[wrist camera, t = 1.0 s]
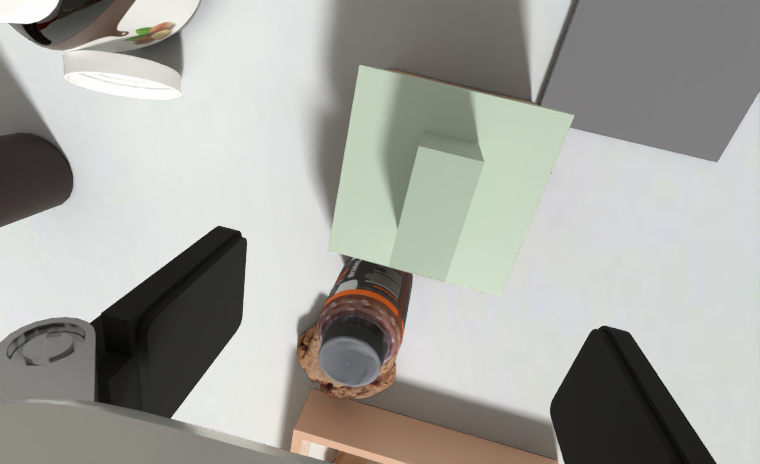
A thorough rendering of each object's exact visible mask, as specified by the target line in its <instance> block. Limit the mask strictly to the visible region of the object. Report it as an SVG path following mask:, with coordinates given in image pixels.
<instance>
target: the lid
mask: <svg viewBox="0 0 760 464" xmlns="http://www.w3.org/2000/svg"><path fill="white" fill-rule="evenodd" d="M574 116H575V115H573V114H571V113H567V112H563V111H559V110H555V109H550V108H546V107H542V106H538V105H533V104H529V103H525V102H520V101H516V100H512V99H508V98H503V97H499V96H495V95H490V94H486V93H482V92H478V91H473V90H469V89H465V88H461V87H456V86H452V85H448V84H443V83H439V82H435V81H431V80H426V79H422V78H418V77H413V76H409V75H405V74H401V73H396V72H392V71H388V70H384V69H379V68H375V67H371V66H366V65H359V69H358V75H357V81H356V87H355V93H354V99H353V105H352V111H351V117H350V123H349V129H348V135H347V141H346V146H345V152H344V158H343V164H342V170H341V176H340V182H339V188H338V194H337V200H336V206H335V212H334V218H333V224H332V230H331V236H330V242H329V247H328V251H331V252H335V253H339V254H343V255H346V256H350V257H354V258H358V259H361V260H365V261H369V262H372V263H376V264H380V265H384V266H387V267H390V268H394V269H398V270H401V271H405V272H409V273H413V274H416V275H420V276H424V277H427V278H431V279H435V280H439V281H442V282H447V283H451V284H455V285H458V286H462V287H466V288H469V289H473V290H477V291H481V292H484V293H488V294H492V295H496V296H499V297H500V296H501V293H502V291H503V288H504V286H505V283H506V281H507V279H508V276H509V274H510V271H511V269H512V266H513V264H514V262H515V259H516V257H517V254H518V252H519V249H520V247H521V245H522V242H523V240H524V237H525V235H526V232H527V230H528V228H529V225H530V223H531V220H532V218H533V215H534V213H535V211H536V208H537V206H538V203H539V201H540V198H541V196H542V194H543V191H544V189H545V186H546V184H547V181H548V179H549V177H550V174H551V172H552V169H553V167H554V164H555V162H556V159H557V157H558V155H559V152H560V150H561V147H562V145H563V142H564V140H565V138H566V135H567V133H568V130H569V128H570V125H571V123H572V121H573V118H574Z"/></svg>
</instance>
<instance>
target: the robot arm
mask: <svg viewBox="0 0 760 464" xmlns="http://www.w3.org/2000/svg"><path fill="white" fill-rule="evenodd" d="M246 251H247V240H246V238H243V237H242V235H241V232H240V231H237V230H233V229H230V228H226V227H222V226H217V227H216V228H214V229H213V230H212V231H210V232H209V233H208V234H206V235H205V236H204V237H202V238H201V239H200V240H198V241H197V242H196V243H194V244H193V245H192V246H190V247H189V248H188V249H186V250H185V251H184V252H182V253H181V254H180V255H178V256H177V257H176V258H174V259H173V260H172V261H170V262H169V263H168V264H166V265H165V266H164V267H162V268H161V269H160V270H158V271H157V272H156V273H154V274H153V275H152V276H150V277H149V278H148V279H146V280H145V281H144V282H142V283H141V284H140V285H138V286H137V287H136V288H134V289H133V290H132V291H130V292H129V293H128V294H126V295H125V296H124V297H122V298H121V299H120V300H118V301H117V302H116V303H114V304H113V305H112V306H110V307H109V308H108V309H106V310H105V311H104V312H102V313H101V315H100V316H99V317H97V318H96V319H95V320H93V321H92V322H91V323H88V322H86V321H84V320H81V319H78V318H68V317H62V318H50V319H46V320H42V321H37V322H34V323H32V324H29V325H26V326H24V327H21V328H20V329H18V330H16V331H14V332H13V333H11V334H9V335H8V336H7V337H6V338H5V339H4V340H3V341H1V342H0V464H333V463H329V462H326V461H322V460H319V459H315V458H312V457H308V456H304V455H301V454H297V453H294V452H290V451H287V450H283V449H280V448H276V447H272V446H269V445H265V444H262V443H258V442H255V441H251V440H247V439H244V438H240V437H237V436H233V435H230V434H226V433H223V432H219V431H215V430H212V429H208V428H204V427H200V426H196V425H192V424H189V423H185V422H181V421H177V420H173V419H170V418H171V417H172V416H173V414H174V413H175V412H176V411H177V409H178V408H179V407H180V405H181V404H182V403H183V401H184V400H185V399H186V397H187V396H188V395H189V393H190V392H191V391H192V389H193V388H194V387H195V385H196V384H197V383H198V381H199V380H200V379H201V377H202V376H203V375H204V373H205V372H206V371H207V370H208V368H209V367H210V366H211V364H212V363H213V362H214V360H215V359H216V358H217V356H218V355H219V354H220V352H221V351H222V350H223V348H224V347H225V346H226V344H227V343H228V342H229V340H230V339H231V338H232V336H233V335H234V334H235V333H236V331H237V330H238V328H239V326H240V324H241V320H242V313H243V298H244V282H245V266H246ZM550 415H551V419H552V422H553V425H554V429H555V432H556V436H557V439H558V443H559V446H560V449H561V453H562V456H563V460H564V463H565V464H716V462H715V461H714V459H713V458H712V456H711V454H710V453H709V451H708V450H707V448H706V447H705V445H704V444H703V442H702V441H701V439H700V438H699V436H698V435H697V433H696V432H695V430H694V429H693V427H692V426H691V424H690V423H689V421H688V420H687V418H686V417H685V415H684V414H683V412H682V411H681V409H680V408H679V406H678V405H677V403H676V402H675V400H674V399H673V397H672V396H671V394H670V393H669V391H668V390H667V388H666V387H665V385H664V384H663V382H662V381H661V379H660V378H659V376H658V375H657V373H656V372H655V370H654V369H653V367H652V366H651V364H650V363H649V361H648V360H647V358H646V357H645V355H644V354H643V352H642V351H641V349H640V348H639V346H638V345H637V343H636V342H635V340H634V339H633V337H632V335H631V334H630V333H629V332H627V331H623V330H620V329H616V328H612V327H608V326H601V327H600V328H599V329H598V330H597V329H594V330H592V331H591V332H590V334H589V336H588V337H587V339H586V341H585V343H584V345H583V346H582V348H581V350H580V352H579V354H578V355H577V357H576V359H575V361H574V362H573V364H572V366H571V368H570V370H569V371H568V373H567V375H566V377H565V378H564V380H563V382H562V384H561V386H560V387H559V389H558V391H557V393H556V394H555V396H554V398H553V400H552V402H551V406H550Z"/></svg>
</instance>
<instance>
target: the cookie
mask: <svg viewBox="0 0 760 464" xmlns="http://www.w3.org/2000/svg"><path fill="white" fill-rule="evenodd" d="M320 347H321V344H320V341H319V339H318V335H317V322H316V323H315V324H314V325H313V327H312V328H311V329H308V331H307V332H304V333H303V334H302V335H301V336H300V338H299V339H298V343H297V355H298V360H299V363H300V365H301V366H302V367H303V368H304V370H305V372H306V373H307V375H308V377H309V378H310V379H311V381H312V382H313V383H314V382H319V383H321V385H320V388H321V390H322V392H323V394H324V395H325V396H326V397H329V398H335V399H351V398H353V399H360V398H365V397H370V396H372V395H374V394H376V393H379V392H381V391H382V390H384V389H386V388H388V386H389V385H392V384H393V382H394V381H395V372H396V364H395V360H396V355H397V354H396V355H395V356H394V357H393V358H392V359H391V360H390V361H389V362H388V363H386V364H385V365H383V366H382V367H381V370H380V373H379V375H378V377H377V378H376V379H375V380H374V381H373V382H371V383H370V384H367V385H365V386H359V387H351V386H346V385H342V384H339V383H337V382H335V381H333V380H332V379H330V378H329V377H328V376H327V375H326V374H325V373H324V372H323V370H322V369H321V367H320V365H319V361H318V353H319V349H320ZM397 353H398V352H397Z"/></svg>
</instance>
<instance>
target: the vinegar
mask: <svg viewBox="0 0 760 464" xmlns="http://www.w3.org/2000/svg"><path fill="white" fill-rule="evenodd" d="M72 189H73V183H72V175H71V172H70V168H69V166H68V164H67V163H66V161H65V159H64V157H63V156H62V155H61V154H60V153H59V152H58V150H57V149H56V148H55V147H54V146H53V145H51V144H50V143H48V142H47V141H46V140H44V139H43V138H40V137H38V136H35V135H33V134H25V133H16V134H10V135H4V136H0V227H2V226H5V225H8V224H10V223H13V222H16V221H18V220H21V219H24V218H26V217H29V216H32V215H34V214H37V213H40V212H42V211H45V210H48V209H50V208H53V207H56V206H58V205H61V204H63V203H64V202H65V201H66V200H67V199H68V198H69V197H70V194H71V192H72Z"/></svg>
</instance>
